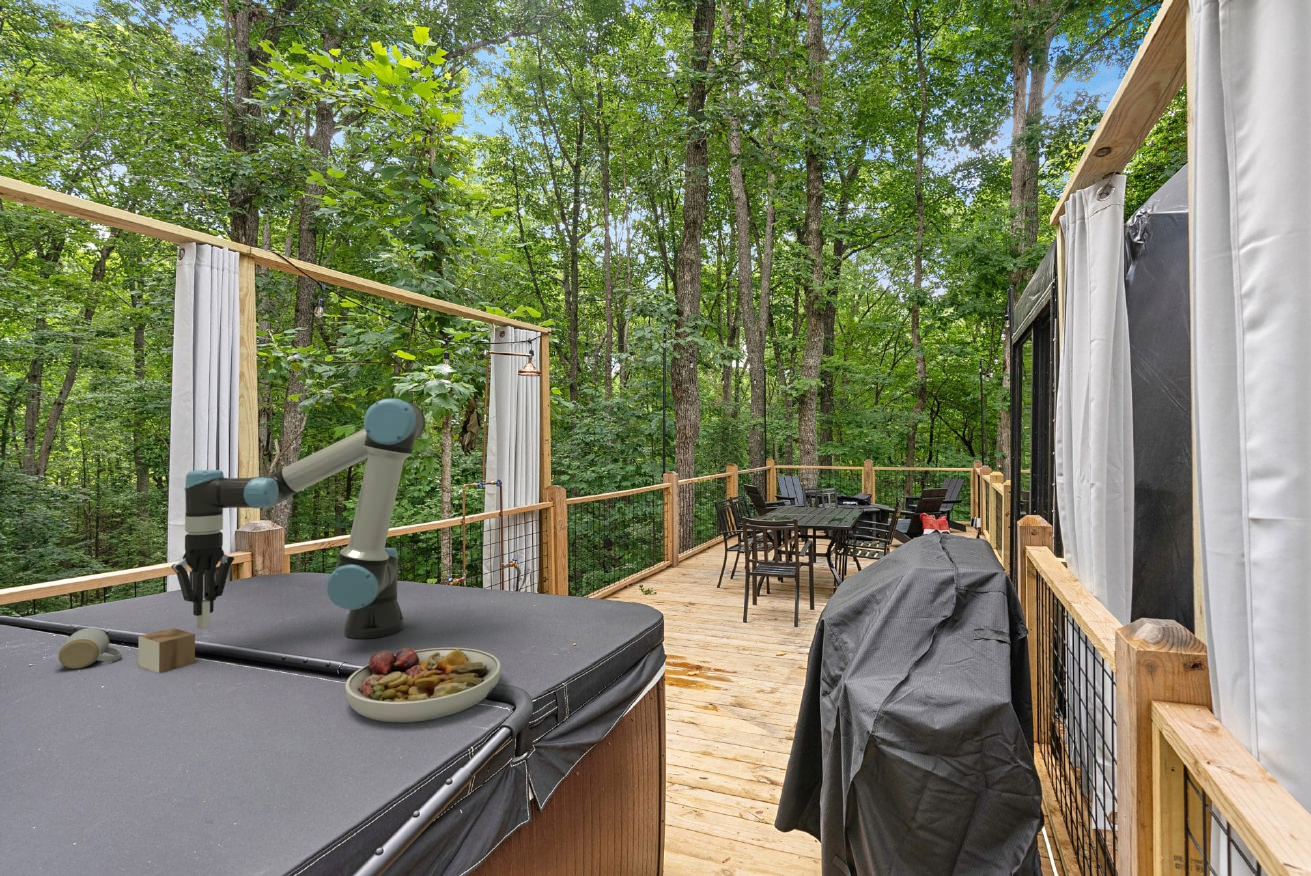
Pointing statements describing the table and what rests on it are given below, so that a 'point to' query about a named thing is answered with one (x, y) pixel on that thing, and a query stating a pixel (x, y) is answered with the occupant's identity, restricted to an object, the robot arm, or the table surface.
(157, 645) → the walnut block
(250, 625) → the table surface
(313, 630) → the table surface
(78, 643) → the ceramic mug
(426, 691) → the bowl
